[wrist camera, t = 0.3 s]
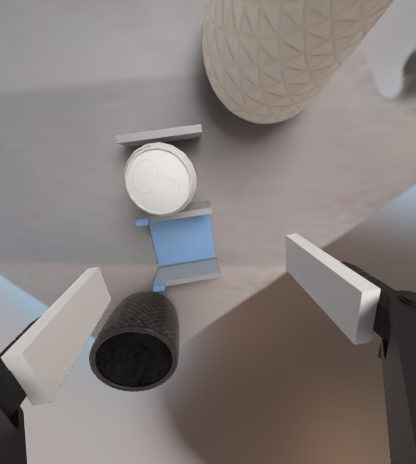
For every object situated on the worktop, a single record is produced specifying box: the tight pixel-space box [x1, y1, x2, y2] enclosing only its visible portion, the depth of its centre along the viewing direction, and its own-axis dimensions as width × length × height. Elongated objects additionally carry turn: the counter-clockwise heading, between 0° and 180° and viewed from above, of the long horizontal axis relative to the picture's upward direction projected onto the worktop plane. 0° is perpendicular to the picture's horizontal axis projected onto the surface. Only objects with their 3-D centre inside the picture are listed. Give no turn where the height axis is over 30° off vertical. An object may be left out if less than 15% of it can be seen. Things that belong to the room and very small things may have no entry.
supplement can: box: [124, 142, 196, 216], centre depth 28 cm, size 8×8×15 cm
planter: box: [89, 292, 179, 391], centre depth 38 cm, size 14×14×13 cm
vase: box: [202, 0, 394, 124], centre depth 21 cm, size 18×17×23 cm
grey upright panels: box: [115, 124, 221, 292], centre depth 34 cm, size 25×12×7 cm, turn 7°
